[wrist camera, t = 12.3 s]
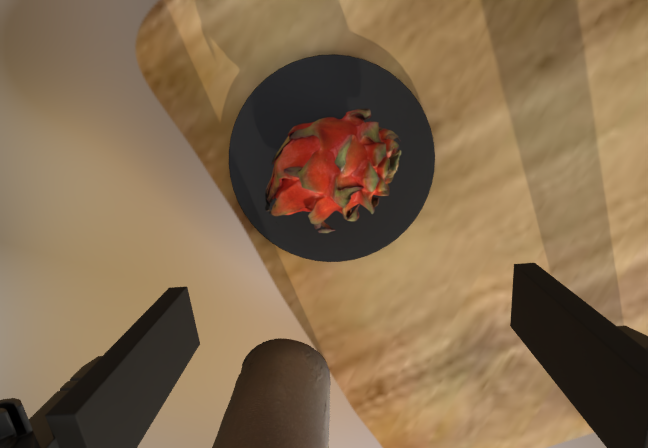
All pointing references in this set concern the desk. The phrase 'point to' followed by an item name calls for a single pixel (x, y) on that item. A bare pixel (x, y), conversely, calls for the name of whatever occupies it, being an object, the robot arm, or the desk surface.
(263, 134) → the mat
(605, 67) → the desk surface
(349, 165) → the dragon fruit
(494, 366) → the desk surface
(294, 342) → the pillar candle
